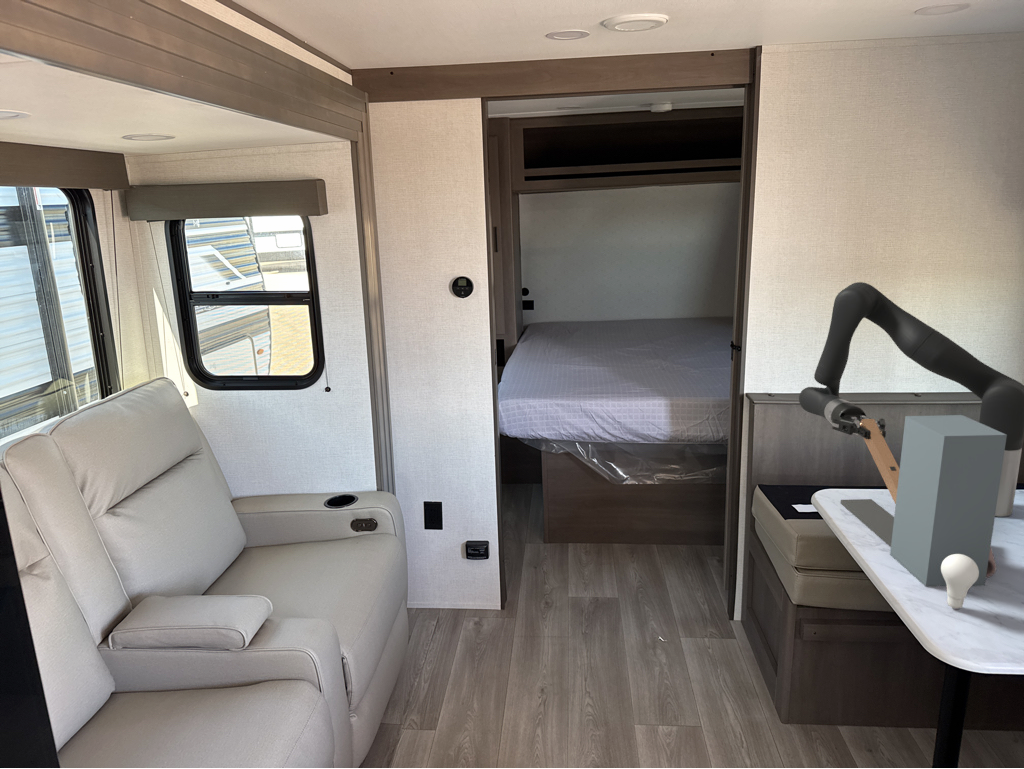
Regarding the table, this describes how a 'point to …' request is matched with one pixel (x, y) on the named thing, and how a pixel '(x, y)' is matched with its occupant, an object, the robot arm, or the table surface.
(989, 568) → the coil
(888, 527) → the rubber mat
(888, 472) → the wooden plank with hole
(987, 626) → the table surface
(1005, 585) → the table surface
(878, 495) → the table surface
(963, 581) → the lightbulb
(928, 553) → the tall grey-blue box
